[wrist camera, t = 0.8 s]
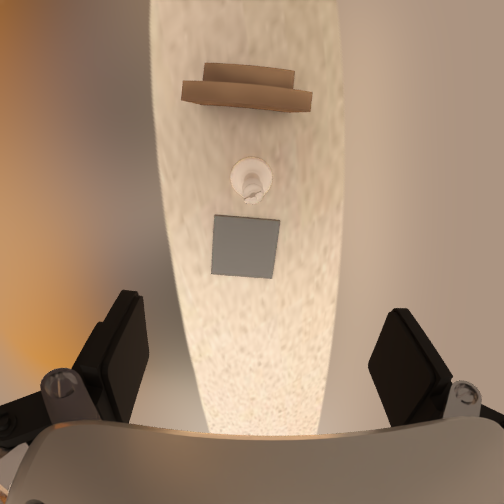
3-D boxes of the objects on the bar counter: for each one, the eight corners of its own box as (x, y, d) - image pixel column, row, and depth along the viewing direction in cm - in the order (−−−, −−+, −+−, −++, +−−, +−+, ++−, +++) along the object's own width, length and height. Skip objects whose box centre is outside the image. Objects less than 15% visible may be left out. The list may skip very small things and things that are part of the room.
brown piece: (205, 63, 31) (187, 40, 20) (293, 71, 31) (316, 52, 20) (201, 104, 33) (181, 100, 22) (289, 112, 33) (310, 111, 22)
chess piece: (279, 186, 37) (290, 211, 28) (242, 204, 38) (241, 234, 29) (261, 149, 35) (267, 162, 26) (223, 168, 36) (215, 187, 27)
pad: (214, 214, 38) (214, 215, 38) (279, 220, 39) (280, 221, 38) (211, 272, 42) (211, 274, 41) (271, 277, 42) (272, 278, 42)
